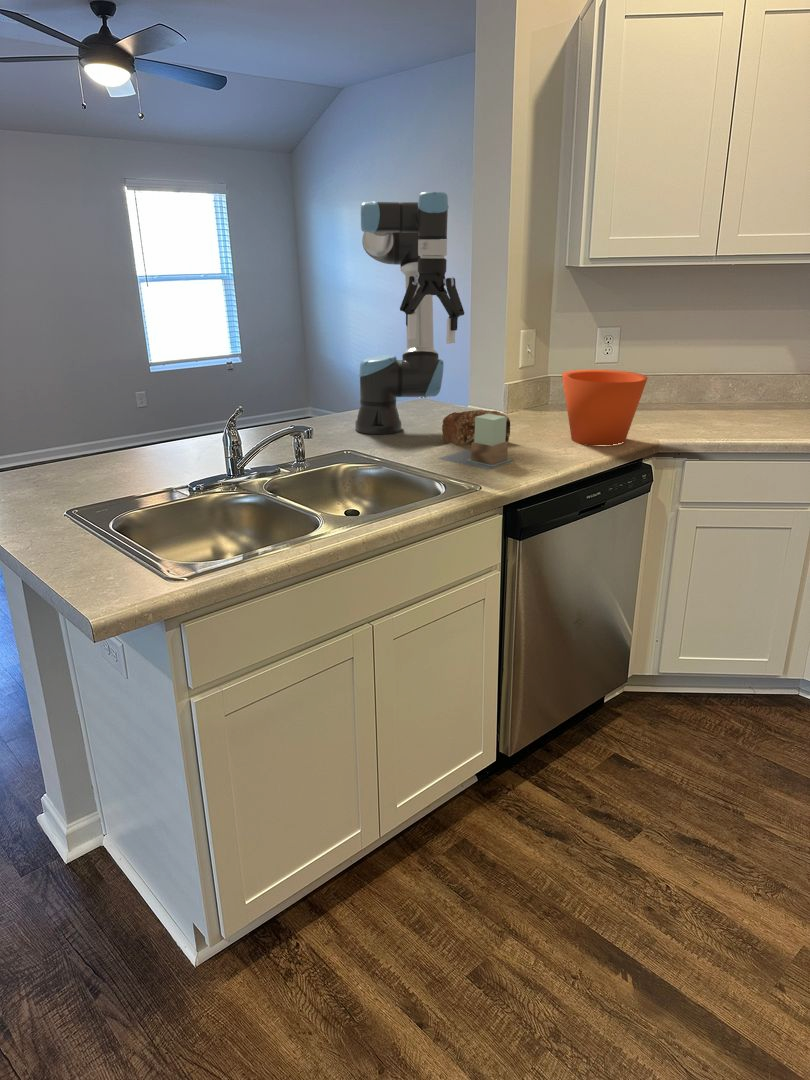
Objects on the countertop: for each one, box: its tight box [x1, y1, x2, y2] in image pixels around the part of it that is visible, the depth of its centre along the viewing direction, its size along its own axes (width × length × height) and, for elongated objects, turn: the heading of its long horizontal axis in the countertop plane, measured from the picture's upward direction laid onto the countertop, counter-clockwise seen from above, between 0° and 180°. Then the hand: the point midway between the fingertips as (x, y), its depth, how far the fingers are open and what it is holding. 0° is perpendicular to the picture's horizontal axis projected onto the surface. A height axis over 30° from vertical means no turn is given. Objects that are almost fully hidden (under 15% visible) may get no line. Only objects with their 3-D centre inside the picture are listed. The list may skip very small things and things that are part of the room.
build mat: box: [437, 449, 517, 471], centre depth 204 cm, size 17×13×1 cm
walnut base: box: [470, 441, 509, 465], centre depth 202 cm, size 7×7×5 cm
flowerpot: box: [561, 369, 649, 446], centre depth 227 cm, size 25×25×20 cm
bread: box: [441, 409, 511, 446], centre depth 225 cm, size 19×11×10 cm, turn 113°
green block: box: [474, 414, 508, 446], centre depth 200 cm, size 6×6×7 cm
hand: (430, 341), depth 202 cm, fingers open, 13 cm apart
